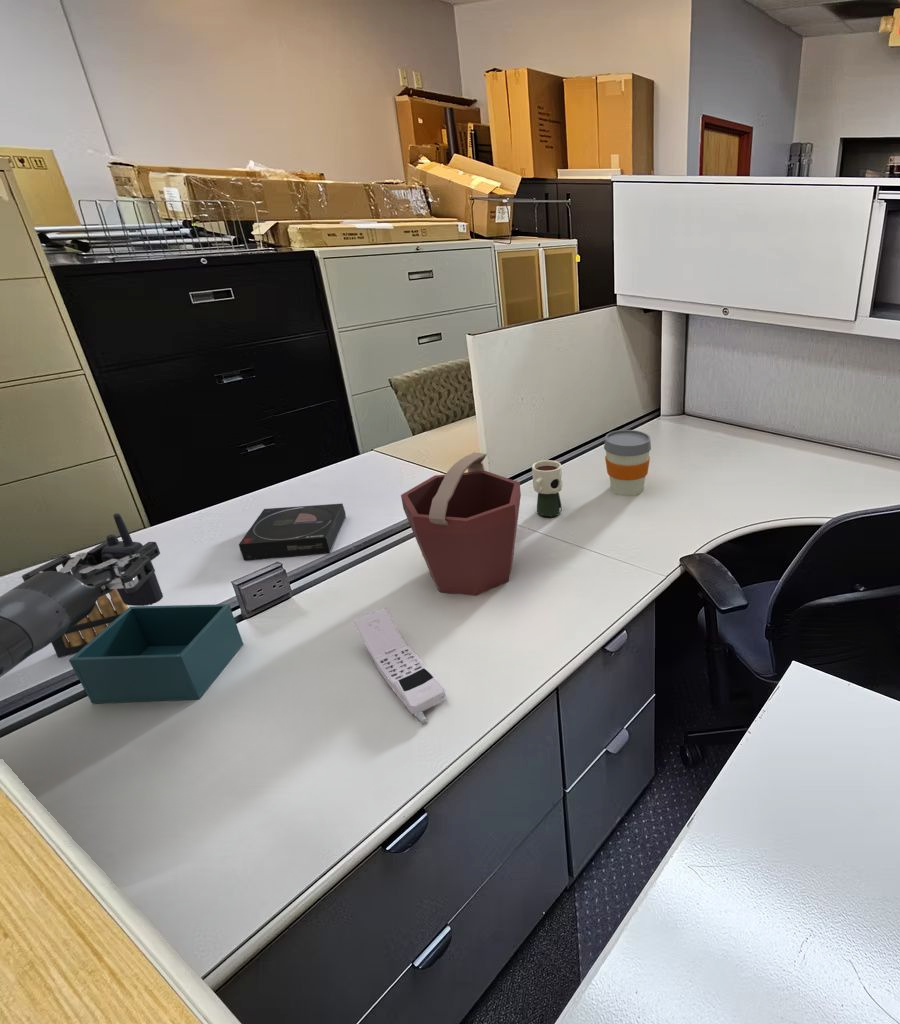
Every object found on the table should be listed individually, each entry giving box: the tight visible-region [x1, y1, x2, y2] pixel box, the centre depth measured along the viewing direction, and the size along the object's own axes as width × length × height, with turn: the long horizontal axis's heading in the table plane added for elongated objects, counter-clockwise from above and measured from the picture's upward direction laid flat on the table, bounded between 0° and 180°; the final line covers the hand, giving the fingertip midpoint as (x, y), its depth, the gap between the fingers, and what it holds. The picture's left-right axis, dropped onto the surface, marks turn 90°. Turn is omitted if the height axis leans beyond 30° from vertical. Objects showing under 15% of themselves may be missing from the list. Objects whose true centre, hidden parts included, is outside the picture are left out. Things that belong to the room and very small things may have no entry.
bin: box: [68, 603, 244, 705], centre depth 99 cm, size 15×13×9 cm
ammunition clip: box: [50, 589, 129, 658], centre depth 103 cm, size 11×2×12 cm, turn 126°
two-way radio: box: [101, 512, 164, 607], centre depth 90 cm, size 6×4×15 cm
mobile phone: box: [352, 607, 447, 724], centre depth 101 cm, size 6×6×25 cm
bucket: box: [400, 451, 522, 596], centre depth 124 cm, size 24×22×25 cm
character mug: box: [531, 459, 564, 517], centre depth 152 cm, size 11×7×13 cm, turn 163°
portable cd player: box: [238, 503, 347, 562], centre depth 139 cm, size 16×17×4 cm
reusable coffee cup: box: [603, 429, 652, 497], centre depth 167 cm, size 13×13×15 cm
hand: (133, 546), depth 92 cm, fingers closed on two-way radio, 5 cm apart
